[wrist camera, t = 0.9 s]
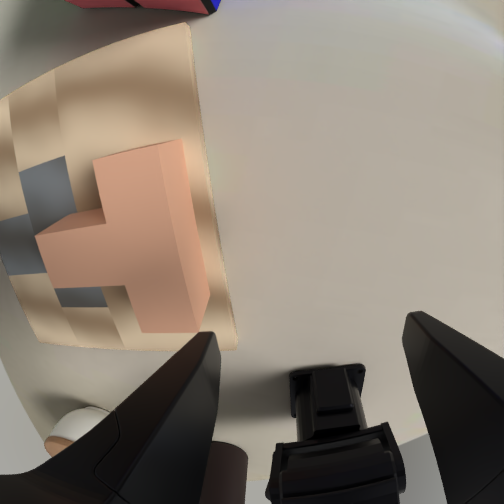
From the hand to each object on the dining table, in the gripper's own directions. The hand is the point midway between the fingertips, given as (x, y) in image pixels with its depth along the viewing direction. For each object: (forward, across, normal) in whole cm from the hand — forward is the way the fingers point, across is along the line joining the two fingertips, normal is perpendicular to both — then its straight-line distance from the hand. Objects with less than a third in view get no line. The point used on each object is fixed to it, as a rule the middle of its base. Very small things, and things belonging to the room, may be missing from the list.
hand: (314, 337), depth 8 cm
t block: (+11, +10, 0) cm, 15 cm away
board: (+12, +14, -1) cm, 19 cm away
